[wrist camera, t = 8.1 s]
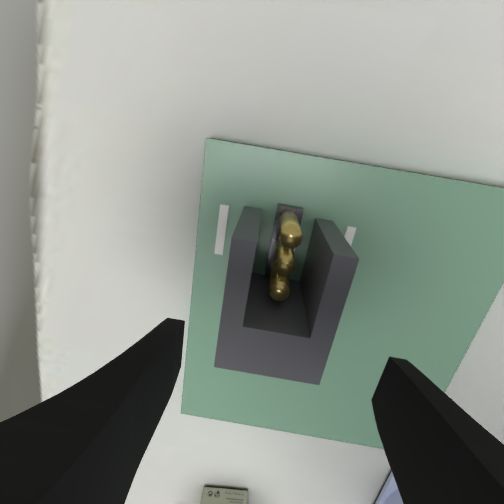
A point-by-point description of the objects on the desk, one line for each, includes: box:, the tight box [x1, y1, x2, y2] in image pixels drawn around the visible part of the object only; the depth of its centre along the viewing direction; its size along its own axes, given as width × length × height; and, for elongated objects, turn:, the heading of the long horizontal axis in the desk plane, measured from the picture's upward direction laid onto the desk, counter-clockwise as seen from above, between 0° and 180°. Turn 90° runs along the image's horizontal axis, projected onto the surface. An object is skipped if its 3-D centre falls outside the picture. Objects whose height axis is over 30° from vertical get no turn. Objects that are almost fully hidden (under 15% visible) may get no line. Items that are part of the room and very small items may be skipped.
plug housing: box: [214, 206, 359, 385], centre depth 15 cm, size 6×5×6 cm
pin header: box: [265, 203, 304, 301], centre depth 15 cm, size 4×1×4 cm, turn 171°
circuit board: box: [181, 138, 504, 449], centre depth 20 cm, size 20×18×1 cm
